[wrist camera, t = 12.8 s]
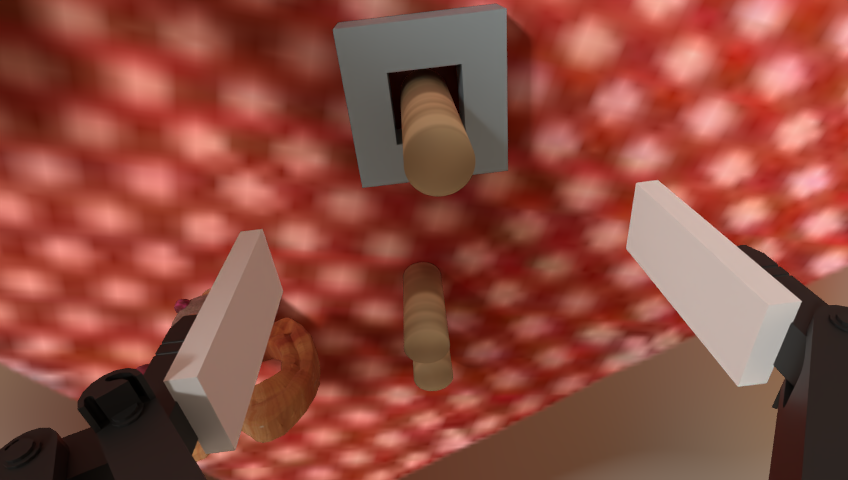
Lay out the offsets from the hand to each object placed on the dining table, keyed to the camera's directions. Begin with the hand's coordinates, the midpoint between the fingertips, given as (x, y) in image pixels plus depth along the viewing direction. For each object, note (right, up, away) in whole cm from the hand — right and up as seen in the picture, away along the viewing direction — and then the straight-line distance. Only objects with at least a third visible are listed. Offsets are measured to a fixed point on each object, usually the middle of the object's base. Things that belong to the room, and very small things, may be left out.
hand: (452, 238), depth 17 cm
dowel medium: (-1, -4, +27) cm, 28 cm away
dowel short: (0, -10, +31) cm, 33 cm away
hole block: (-1, +11, +19) cm, 22 cm away
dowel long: (-1, +11, +19) cm, 22 cm away
